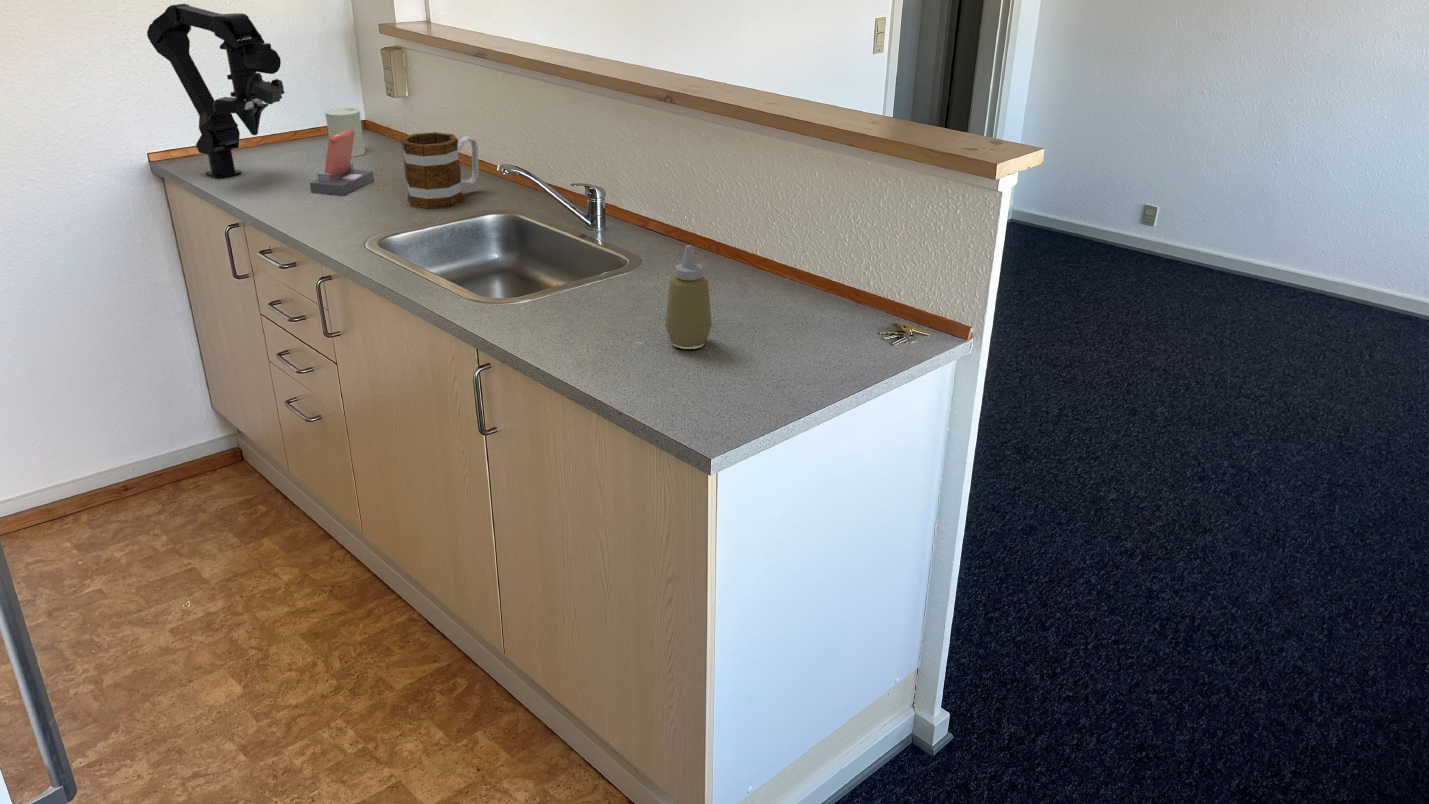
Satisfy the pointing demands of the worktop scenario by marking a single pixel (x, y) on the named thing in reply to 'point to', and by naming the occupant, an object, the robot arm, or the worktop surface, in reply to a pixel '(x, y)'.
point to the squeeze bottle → (688, 303)
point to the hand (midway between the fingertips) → (254, 134)
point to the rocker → (339, 153)
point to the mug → (436, 169)
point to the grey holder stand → (341, 182)
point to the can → (346, 126)
